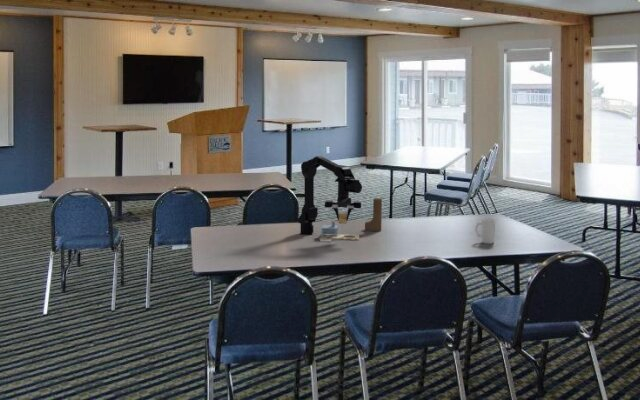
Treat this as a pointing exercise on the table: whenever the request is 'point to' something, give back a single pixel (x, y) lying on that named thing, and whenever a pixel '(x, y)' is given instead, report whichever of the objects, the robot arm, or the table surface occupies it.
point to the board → (339, 237)
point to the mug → (486, 230)
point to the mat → (325, 240)
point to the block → (342, 218)
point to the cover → (329, 229)
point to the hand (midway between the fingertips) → (342, 220)
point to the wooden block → (375, 216)
